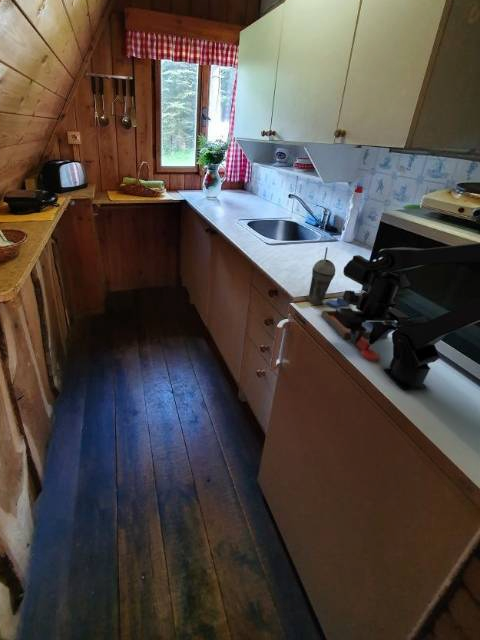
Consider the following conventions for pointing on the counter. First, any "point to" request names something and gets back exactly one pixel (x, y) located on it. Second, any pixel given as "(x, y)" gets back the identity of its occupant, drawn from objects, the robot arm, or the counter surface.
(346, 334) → the tray
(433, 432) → the counter surface
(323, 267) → the beverage cup
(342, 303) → the blue spoon
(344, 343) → the counter surface
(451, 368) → the counter surface
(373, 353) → the red spoon
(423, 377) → the robot arm
